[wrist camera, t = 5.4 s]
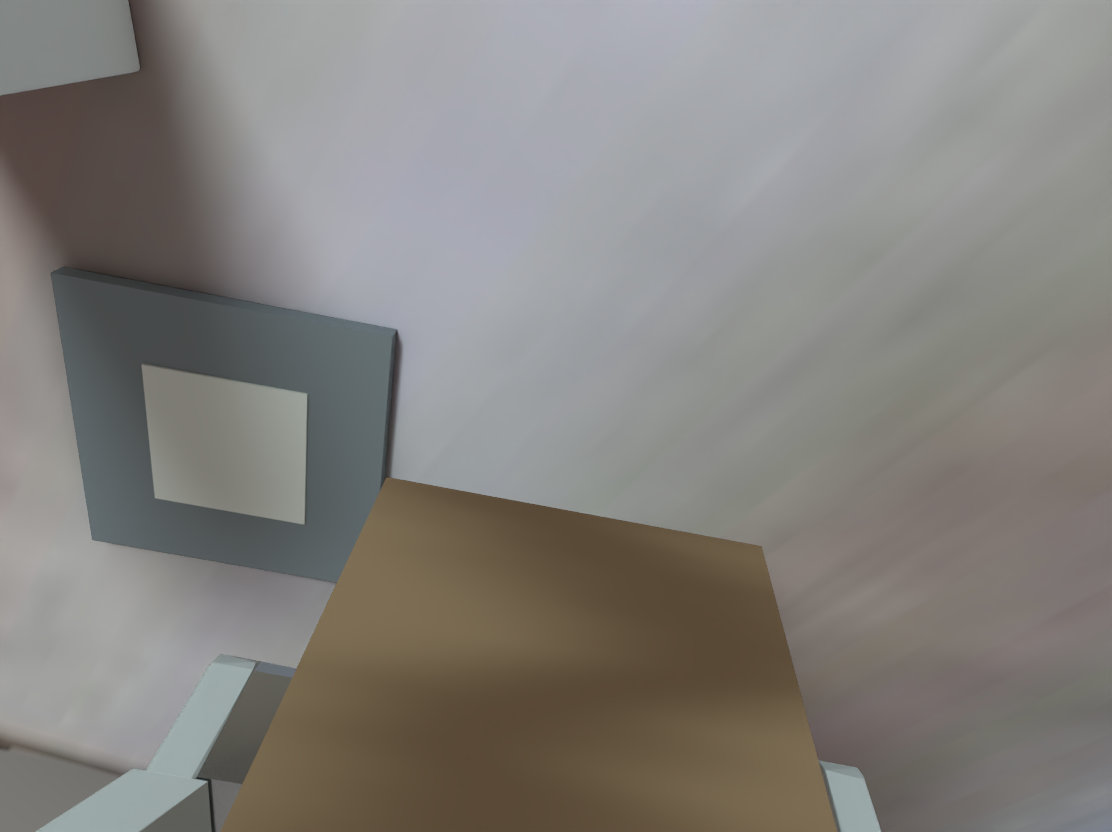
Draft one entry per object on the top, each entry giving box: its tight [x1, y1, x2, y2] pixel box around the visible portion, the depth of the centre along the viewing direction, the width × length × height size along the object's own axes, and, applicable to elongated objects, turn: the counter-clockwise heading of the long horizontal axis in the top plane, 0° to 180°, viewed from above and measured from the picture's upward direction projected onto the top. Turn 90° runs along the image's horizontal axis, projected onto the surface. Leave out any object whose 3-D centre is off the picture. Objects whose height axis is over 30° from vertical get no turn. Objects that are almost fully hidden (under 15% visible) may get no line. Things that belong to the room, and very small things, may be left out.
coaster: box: [51, 267, 397, 583], centre depth 27 cm, size 11×11×1 cm
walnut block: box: [220, 477, 837, 832], centre depth 9 cm, size 5×5×5 cm
